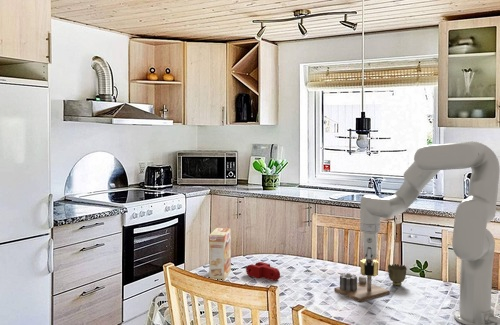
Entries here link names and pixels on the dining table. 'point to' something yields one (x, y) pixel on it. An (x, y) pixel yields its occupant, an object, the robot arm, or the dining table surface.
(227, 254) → the coffeecake box
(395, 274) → the cup
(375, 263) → the brass gear
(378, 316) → the dining table surface
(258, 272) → the mechanical linkage
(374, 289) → the gear board
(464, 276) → the robot arm
